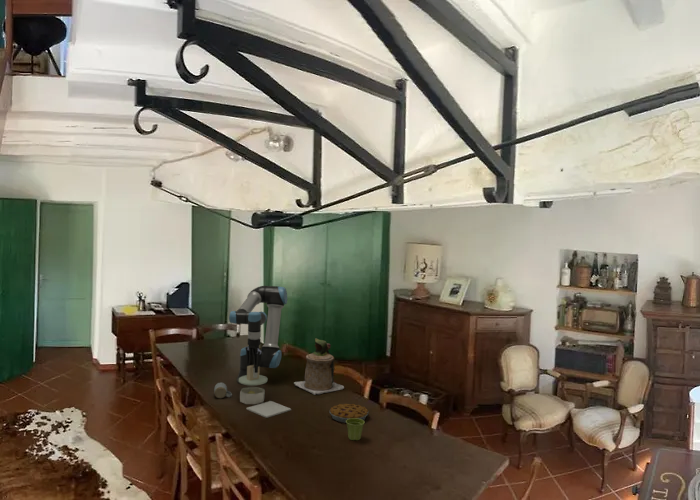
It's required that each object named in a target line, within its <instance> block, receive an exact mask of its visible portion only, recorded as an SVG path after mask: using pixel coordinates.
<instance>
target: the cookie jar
mask: <svg viewBox="0 0 700 500" xmlns="http://www.w3.org/2000/svg"><path fill="white" fill-rule="evenodd" d="M314 343H315V344H314V347H315V350H314V351H313V352H312V353H310V354H309V353H308V354H306V356H305V360H306V365H305V369H304V371H305V373H304V380H303V381H295V382H293V384H294V387H297V388H300V389H301V390H304V391H306V392H309V393H310V394H312V395H314V396H315V395H321V394H325V393H326V394H327V393H332V392H336V391H340V390H341V391H342V390H343V389H345V386H344V385H342V384H339V383H338V382H335V380H334V374H335V373H334V372H335V357H334V355H332V354H330V352H329V350H330V349H331V344H330V343H327V341H326V340H323V339H318V338H314Z"/></svg>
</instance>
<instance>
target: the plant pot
mask: <svg viewBox="0 0 700 500" xmlns="http://www.w3.org/2000/svg"><path fill="white" fill-rule="evenodd" d="M365 422H366V421H365V420H362V419H357V418H351V419H347V420H346V426H347V435H348V436H347V437H348V439H349V441H350V440H351V441H360V440H361V438H362V431H363V427H364V424H365Z"/></svg>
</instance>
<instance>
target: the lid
mask: <svg viewBox="0 0 700 500" xmlns="http://www.w3.org/2000/svg"><path fill="white" fill-rule="evenodd" d="M253 367H254V365H250V366H247V375H245V376H242V377H240V378H239V383H241V384H240V385H243V384H244V385H245V386H260V385H264V384H266V383H267V382H268V377H267V376H265V375H262V374H260V371H261V370H260V368H261V367H258V372H257V378H253ZM239 383H238V384H239ZM244 385H243V386H244Z"/></svg>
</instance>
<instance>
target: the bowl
mask: <svg viewBox="0 0 700 500" xmlns="http://www.w3.org/2000/svg"><path fill="white" fill-rule="evenodd" d="M265 392H266V391H265V388H264V387H260V386H247V387H243V388H241V389H240V391H239V402H240V403H243V404H244V405H258V404H262V403H264V401H265Z"/></svg>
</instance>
